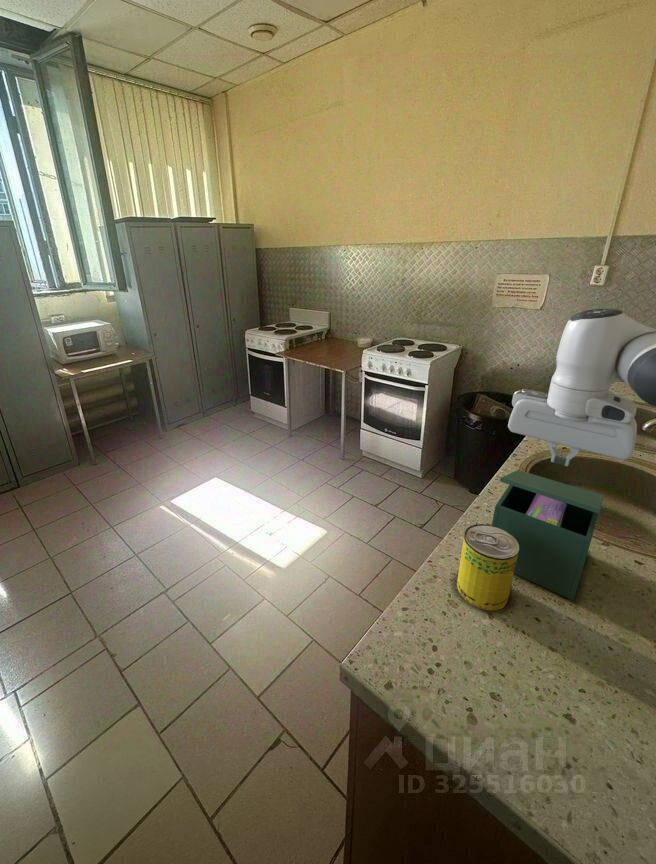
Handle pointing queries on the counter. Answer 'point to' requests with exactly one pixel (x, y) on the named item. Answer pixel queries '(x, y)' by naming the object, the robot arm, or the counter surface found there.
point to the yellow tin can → (487, 566)
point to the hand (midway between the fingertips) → (559, 463)
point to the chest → (546, 541)
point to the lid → (555, 490)
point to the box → (547, 510)
